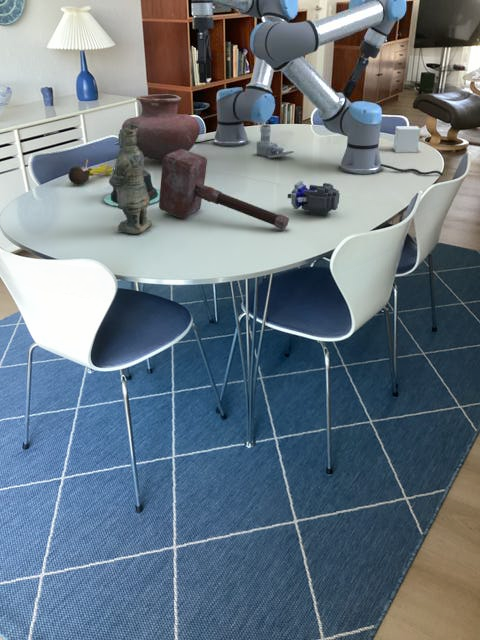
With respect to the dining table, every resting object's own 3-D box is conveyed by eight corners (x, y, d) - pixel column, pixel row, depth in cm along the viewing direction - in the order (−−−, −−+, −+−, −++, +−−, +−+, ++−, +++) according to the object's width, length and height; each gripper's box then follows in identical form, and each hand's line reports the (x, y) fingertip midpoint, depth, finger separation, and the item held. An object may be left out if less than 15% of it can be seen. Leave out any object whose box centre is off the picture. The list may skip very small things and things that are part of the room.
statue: (131, 220, 168) (117, 116, 152) (158, 224, 164) (147, 118, 149) (109, 233, 159) (93, 124, 144) (138, 237, 156) (124, 126, 140)
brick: (395, 152, 233) (398, 129, 228) (393, 148, 238) (396, 126, 233) (417, 152, 232) (420, 129, 227) (414, 148, 238) (417, 126, 233)
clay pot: (207, 152, 239) (204, 90, 226) (190, 171, 213) (185, 102, 200) (140, 150, 243) (133, 89, 231) (115, 169, 218) (106, 101, 205)
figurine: (134, 159, 212) (83, 166, 193) (134, 179, 215) (84, 188, 196) (109, 155, 218) (58, 161, 199) (110, 174, 221) (59, 182, 202)
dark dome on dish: (91, 202, 180) (113, 186, 197) (142, 231, 182) (160, 212, 199) (107, 162, 172) (129, 148, 190) (160, 192, 174) (177, 176, 192)
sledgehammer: (299, 190, 156) (179, 147, 167) (285, 200, 148) (161, 154, 160) (286, 244, 166) (174, 200, 177) (272, 256, 158) (156, 209, 170)
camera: (266, 123, 231) (294, 128, 223) (265, 151, 237) (293, 157, 229) (252, 126, 226) (281, 131, 217) (252, 155, 232) (280, 162, 223)
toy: (295, 178, 172) (342, 184, 166) (295, 205, 177) (340, 211, 171) (285, 186, 166) (333, 192, 160) (284, 213, 170) (331, 220, 164)
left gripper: (209, 17, 188) (211, 84, 199) (216, 15, 210) (218, 76, 221) (187, 17, 189) (190, 85, 200) (197, 16, 211) (199, 76, 221)
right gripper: (381, 53, 198) (352, 107, 209) (380, 44, 219) (354, 94, 231) (363, 43, 197) (334, 98, 209) (363, 35, 219) (338, 86, 230)
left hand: (205, 80), depth 210 cm, fingers open, 13 cm apart
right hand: (344, 97), depth 220 cm, fingers open, 14 cm apart
